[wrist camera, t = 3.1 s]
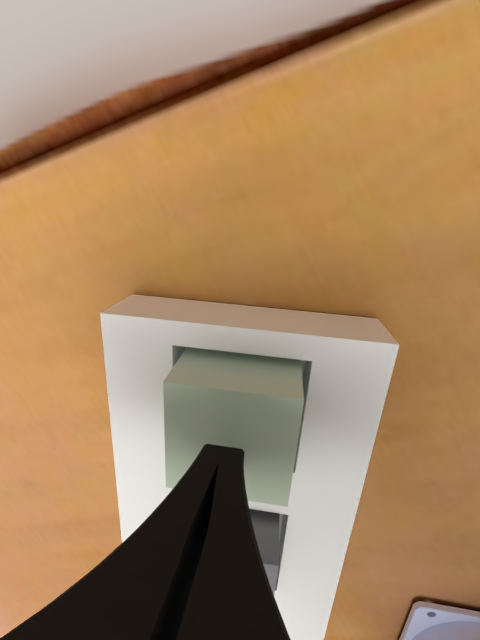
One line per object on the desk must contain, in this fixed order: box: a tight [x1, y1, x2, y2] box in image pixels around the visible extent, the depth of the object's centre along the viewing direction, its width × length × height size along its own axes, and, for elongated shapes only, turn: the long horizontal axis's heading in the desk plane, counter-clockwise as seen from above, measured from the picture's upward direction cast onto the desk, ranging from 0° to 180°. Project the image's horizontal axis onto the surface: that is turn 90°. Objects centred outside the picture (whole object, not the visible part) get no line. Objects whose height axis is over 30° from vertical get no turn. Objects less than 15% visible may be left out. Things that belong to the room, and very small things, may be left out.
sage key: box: [163, 347, 304, 507], centre depth 13 cm, size 5×5×3 cm
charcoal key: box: [249, 509, 280, 595], centre depth 16 cm, size 5×5×3 cm
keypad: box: [100, 294, 399, 640], centre depth 18 cm, size 12×25×3 cm, turn 177°
